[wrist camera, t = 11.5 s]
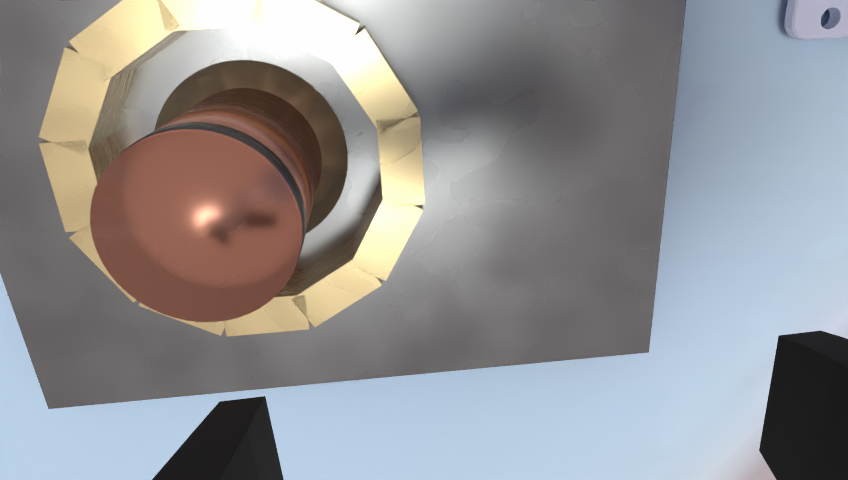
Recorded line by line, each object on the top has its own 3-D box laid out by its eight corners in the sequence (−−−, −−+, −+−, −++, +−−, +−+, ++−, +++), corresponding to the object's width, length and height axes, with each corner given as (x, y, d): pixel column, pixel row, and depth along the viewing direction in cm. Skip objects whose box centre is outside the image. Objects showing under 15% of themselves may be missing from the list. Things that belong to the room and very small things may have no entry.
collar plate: (688, -178, 14) (748, -210, 12) (638, 338, 19) (672, 383, 17) (-122, -146, 13) (-221, -173, 11) (61, 392, 18) (19, 446, 16)
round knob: (347, 130, 15) (336, 190, 11) (287, 249, 16) (253, 350, 12) (208, 59, 14) (129, 90, 10) (153, 189, 15) (60, 274, 11)
